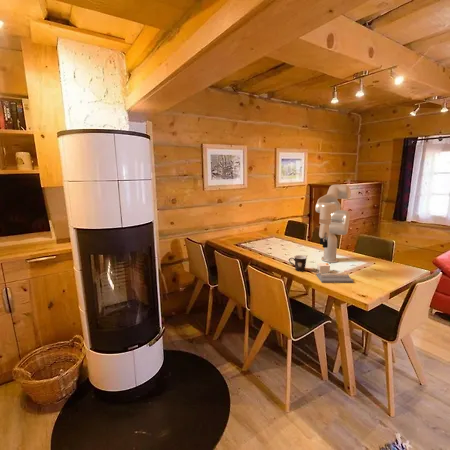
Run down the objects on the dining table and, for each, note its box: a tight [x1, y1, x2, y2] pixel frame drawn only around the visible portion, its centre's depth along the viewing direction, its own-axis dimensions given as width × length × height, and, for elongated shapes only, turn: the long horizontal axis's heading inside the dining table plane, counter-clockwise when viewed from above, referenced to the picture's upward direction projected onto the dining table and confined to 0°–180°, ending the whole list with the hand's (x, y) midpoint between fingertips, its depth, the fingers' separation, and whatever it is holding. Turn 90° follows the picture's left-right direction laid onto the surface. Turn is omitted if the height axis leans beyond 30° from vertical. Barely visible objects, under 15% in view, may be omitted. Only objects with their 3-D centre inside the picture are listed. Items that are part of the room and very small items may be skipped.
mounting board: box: [316, 273, 354, 284], centre depth 182 cm, size 12×20×2 cm, turn 88°
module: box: [316, 262, 331, 274], centre depth 195 cm, size 6×7×6 cm
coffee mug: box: [288, 254, 307, 273], centre depth 200 cm, size 12×9×10 cm
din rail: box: [319, 273, 350, 278], centre depth 182 cm, size 2×18×2 cm, turn 88°
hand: (323, 245), depth 192 cm, fingers open, 9 cm apart
